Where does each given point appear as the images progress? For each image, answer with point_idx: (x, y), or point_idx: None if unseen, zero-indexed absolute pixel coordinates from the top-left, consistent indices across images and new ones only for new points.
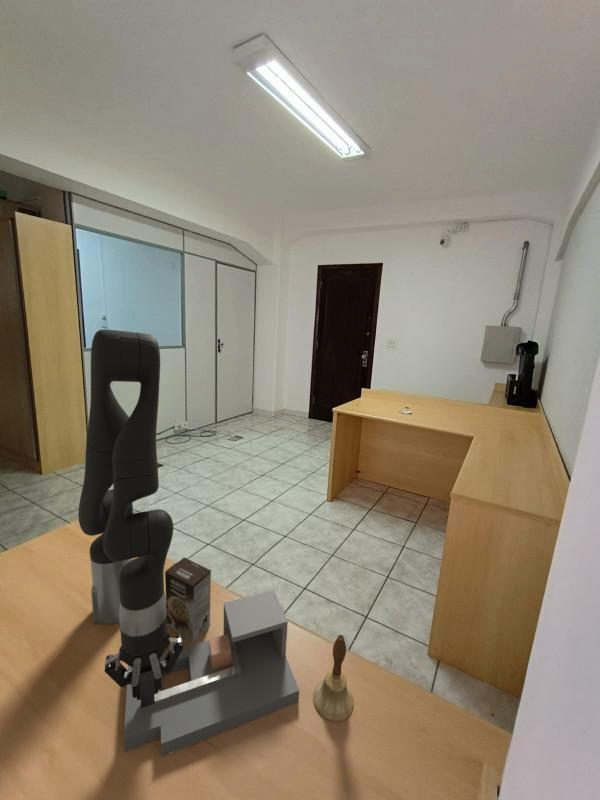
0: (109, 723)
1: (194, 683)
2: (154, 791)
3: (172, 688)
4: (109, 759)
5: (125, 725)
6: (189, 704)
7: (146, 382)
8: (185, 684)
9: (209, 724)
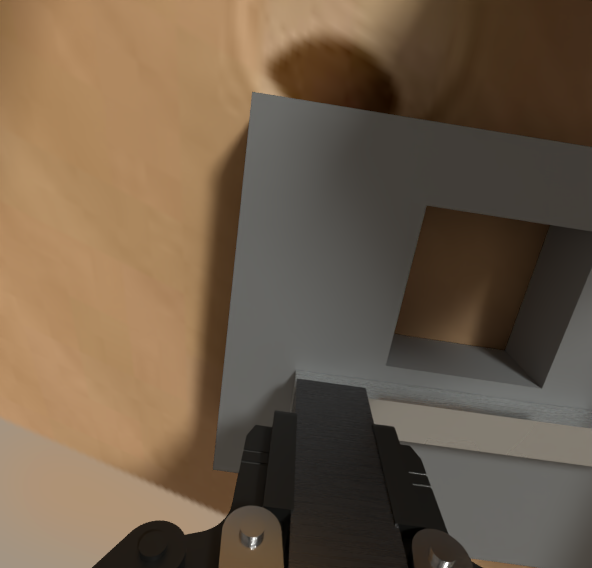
0: (174, 303)
1: (559, 442)
2: None
3: (451, 416)
4: (179, 419)
5: (221, 428)
6: (487, 472)
7: None
8: (517, 426)
9: (521, 562)
